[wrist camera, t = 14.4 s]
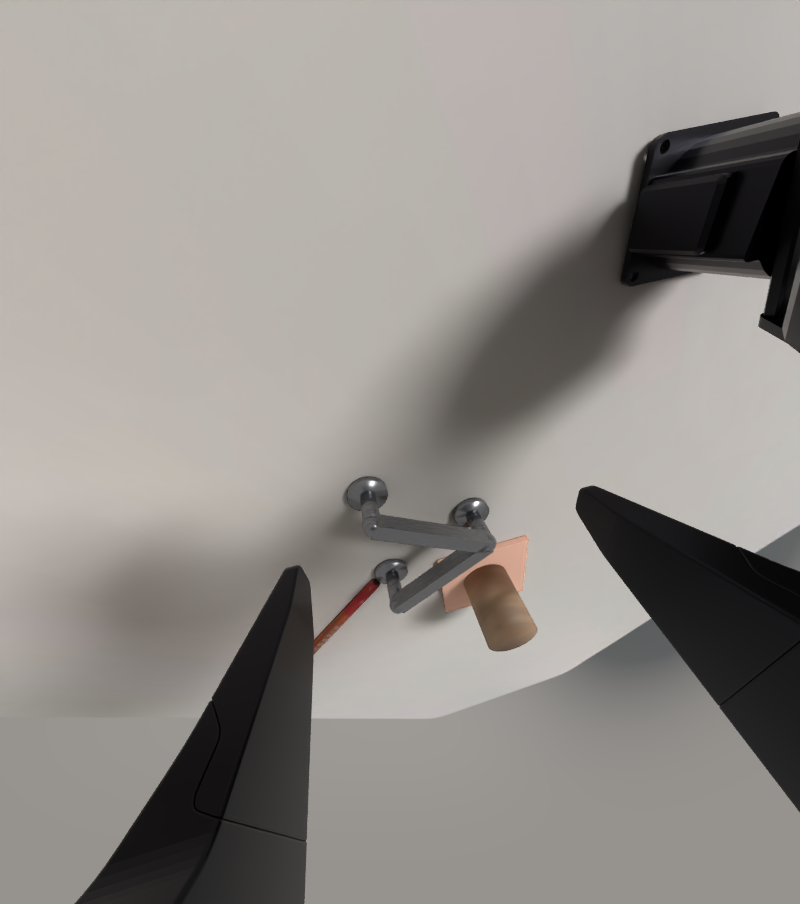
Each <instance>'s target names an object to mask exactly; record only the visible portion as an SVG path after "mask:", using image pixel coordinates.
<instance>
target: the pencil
mask: <svg viewBox="0 0 800 904" xmlns="http://www.w3.org/2000/svg"><path fill="white" fill-rule="evenodd" d="M379 585H380V582H378V581H377V580H376V579H372V580H371V581H370V582H369V583H368V584H367V585H366V586H365V587H364V588H363V589H362V591H361V592H360V593H359V594H358V595H357V596H356V597H355V598H354V599H353V600H352V601H351V602H350V603H349V604H348V605H347V606H346V608H345V609H344V610H343V611H342V612H341V613H340V614H339V615H338V616H337V617H336V618H335V619H334V620H333V621H332V622H331V623H330V625H329V626H328V627H327V628H326V629H325V630H324V631H323V632H322V633H321V634H320V635H319V636H318V637H317V638H316V639H315V640H314V654H315V653H316V652H317V651H318V650H319V648H320V647H321V646H322V645H323V644H324V643H325V642H326V641H327V640H328V639H329V638H330V637H331V636H332V635H333V634H334V633H335V632H336V631H337V630H338V629H339V628H340V627H341V626H342V625H343V624H344V622H345V621H346V620H347V619H348V618H349V617H350V616H351V615H352V614H353V613H354V612H355V611H356V610H357V609H358V608H359V607H360V606H361V605H362V604H363V603H364V602H365V601H366V600H367V599H368V598H369V596H370V595H371V594H372V593H373V592H374V591H375V590H376V589H377V588H378V587H379Z"/></svg>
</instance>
